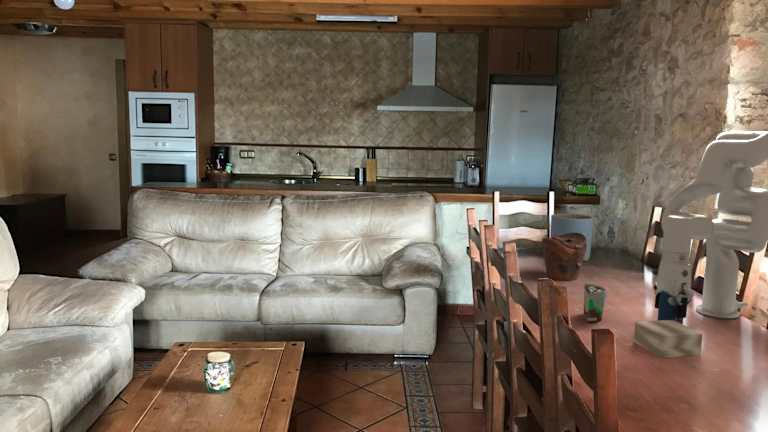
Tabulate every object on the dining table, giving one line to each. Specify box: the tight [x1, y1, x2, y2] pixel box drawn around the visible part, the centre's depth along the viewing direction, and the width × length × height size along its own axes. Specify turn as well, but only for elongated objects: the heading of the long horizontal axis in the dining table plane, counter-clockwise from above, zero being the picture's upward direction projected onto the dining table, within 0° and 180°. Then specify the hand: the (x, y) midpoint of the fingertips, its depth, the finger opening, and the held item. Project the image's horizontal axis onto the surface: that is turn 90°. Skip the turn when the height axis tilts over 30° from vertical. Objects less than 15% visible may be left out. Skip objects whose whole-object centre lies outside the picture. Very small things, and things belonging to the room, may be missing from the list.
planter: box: [550, 213, 595, 262], centre depth 279 cm, size 19×19×20 cm
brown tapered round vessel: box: [540, 233, 587, 281], centre depth 242 cm, size 18×20×18 cm
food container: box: [582, 283, 608, 324], centre depth 188 cm, size 12×6×10 cm, turn 168°
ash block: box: [633, 320, 703, 359], centre depth 163 cm, size 12×12×6 cm
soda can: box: [656, 291, 684, 325], centre depth 178 cm, size 7×7×12 cm
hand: (669, 312), depth 178 cm, fingers open, 9 cm apart
